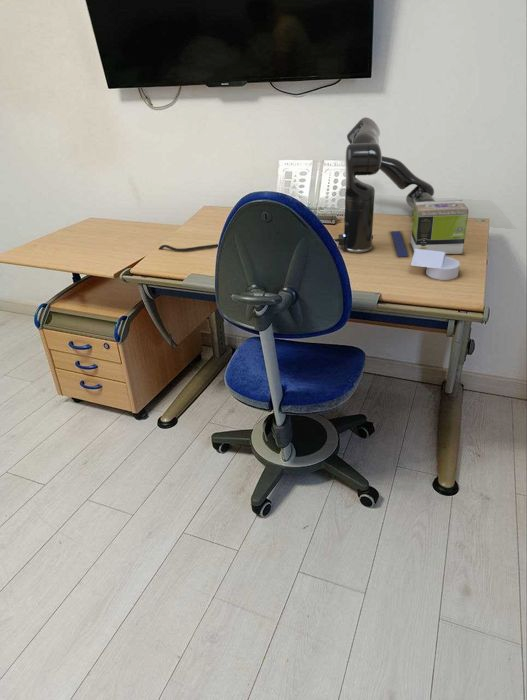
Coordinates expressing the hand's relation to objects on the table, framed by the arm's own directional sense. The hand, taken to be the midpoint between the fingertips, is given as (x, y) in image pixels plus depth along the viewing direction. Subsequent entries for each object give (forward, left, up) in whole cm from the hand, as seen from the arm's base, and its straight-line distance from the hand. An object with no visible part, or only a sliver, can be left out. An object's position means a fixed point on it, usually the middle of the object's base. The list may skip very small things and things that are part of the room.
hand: (435, 225), depth 165 cm
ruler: (-11, 0, -6) cm, 13 cm away
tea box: (0, -5, -7) cm, 8 cm away
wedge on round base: (-3, -23, -7) cm, 24 cm away
